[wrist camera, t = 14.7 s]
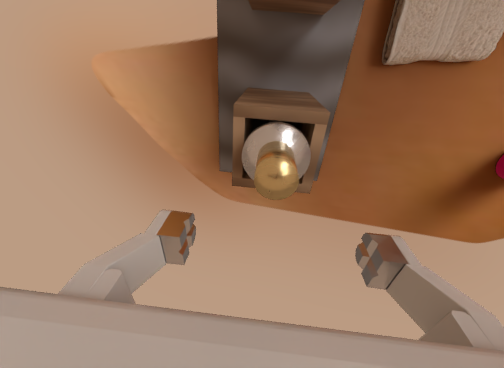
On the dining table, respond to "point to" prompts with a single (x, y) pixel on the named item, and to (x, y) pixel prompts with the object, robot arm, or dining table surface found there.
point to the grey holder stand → (281, 72)
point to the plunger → (276, 158)
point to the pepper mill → (500, 167)
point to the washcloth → (443, 30)
